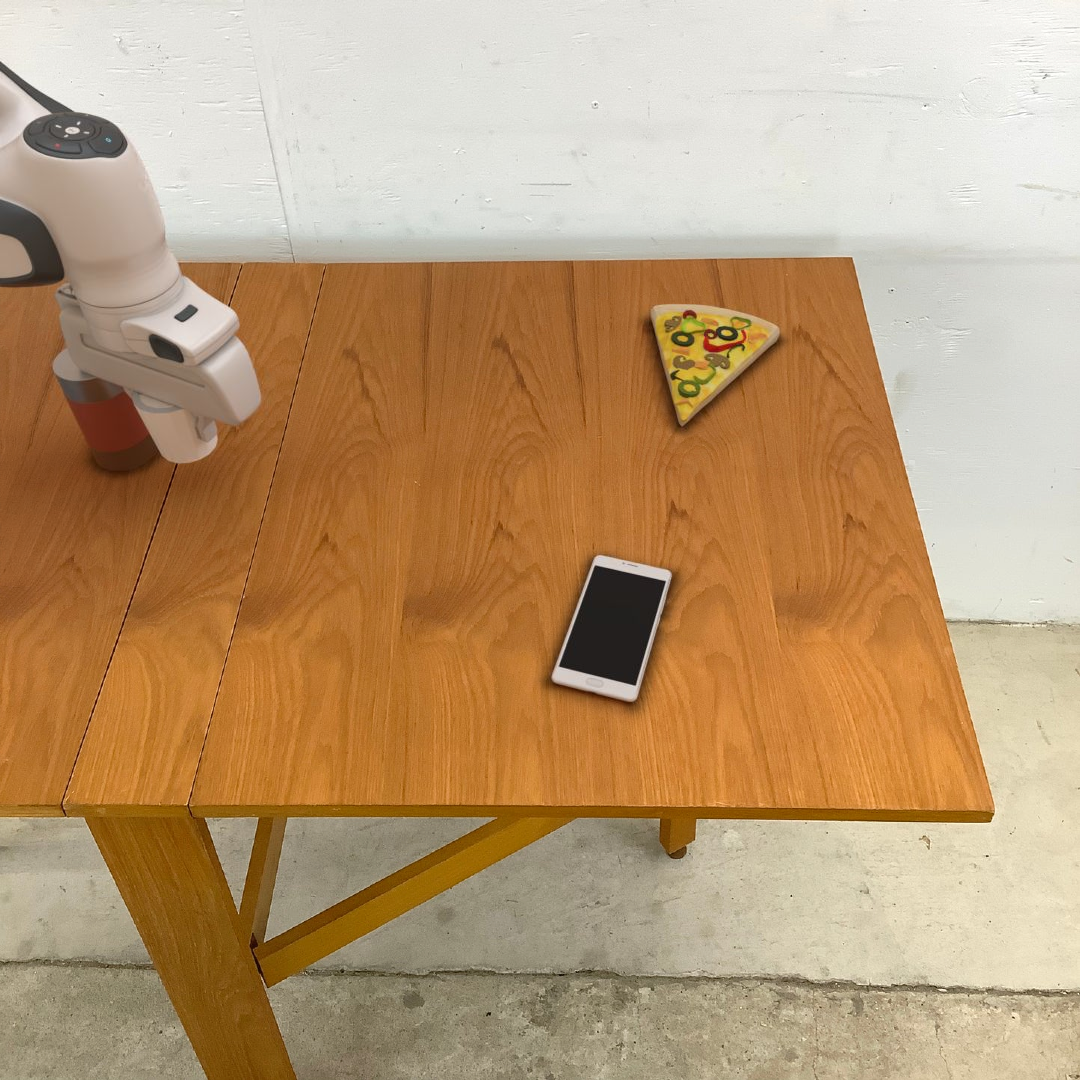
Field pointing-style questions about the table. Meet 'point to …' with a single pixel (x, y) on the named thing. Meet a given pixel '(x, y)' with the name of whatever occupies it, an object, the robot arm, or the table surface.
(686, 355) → the pizza slice
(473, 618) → the table surface
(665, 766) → the table surface
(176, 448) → the shot glass
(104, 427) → the tin can
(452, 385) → the table surface
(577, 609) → the smartphone
